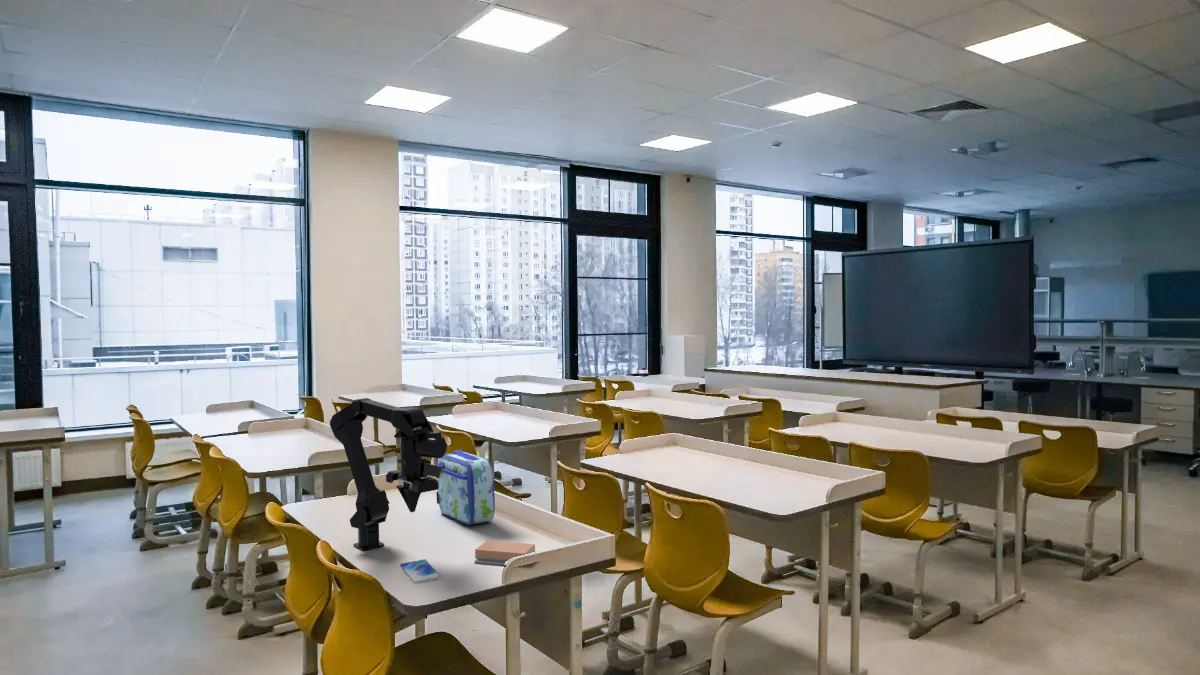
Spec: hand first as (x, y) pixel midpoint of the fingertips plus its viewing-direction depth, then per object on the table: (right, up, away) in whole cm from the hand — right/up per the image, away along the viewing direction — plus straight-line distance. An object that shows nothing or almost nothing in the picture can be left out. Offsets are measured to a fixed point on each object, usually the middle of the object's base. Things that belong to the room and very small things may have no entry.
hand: (412, 511), depth 201 cm
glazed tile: (+19, -10, 0) cm, 21 cm away
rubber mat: (+24, -12, -2) cm, 27 cm away
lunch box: (+8, -11, +36) cm, 39 cm away
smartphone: (+5, -13, -12) cm, 18 cm away
